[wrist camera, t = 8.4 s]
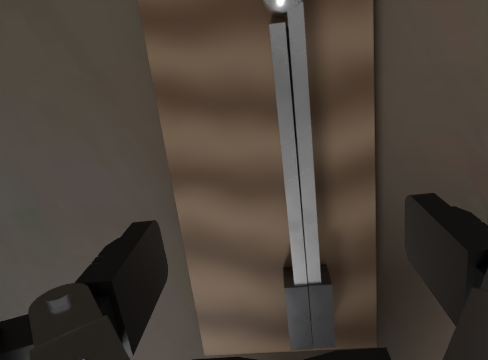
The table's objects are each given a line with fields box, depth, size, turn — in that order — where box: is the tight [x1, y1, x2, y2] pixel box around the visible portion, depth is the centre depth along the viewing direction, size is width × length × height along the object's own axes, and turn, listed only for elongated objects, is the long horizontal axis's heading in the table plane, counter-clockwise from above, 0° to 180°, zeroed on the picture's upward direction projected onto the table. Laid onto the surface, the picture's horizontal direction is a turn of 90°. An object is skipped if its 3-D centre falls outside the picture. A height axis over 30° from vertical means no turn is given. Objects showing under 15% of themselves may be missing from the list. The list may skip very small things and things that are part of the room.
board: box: [138, 0, 377, 355], centre depth 30 cm, size 34×16×2 cm, turn 7°
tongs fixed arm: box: [262, 0, 335, 349], centre depth 27 cm, size 28×3×3 cm, turn 7°
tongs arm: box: [269, 22, 313, 351], centre depth 28 cm, size 25×2×3 cm, turn 7°
